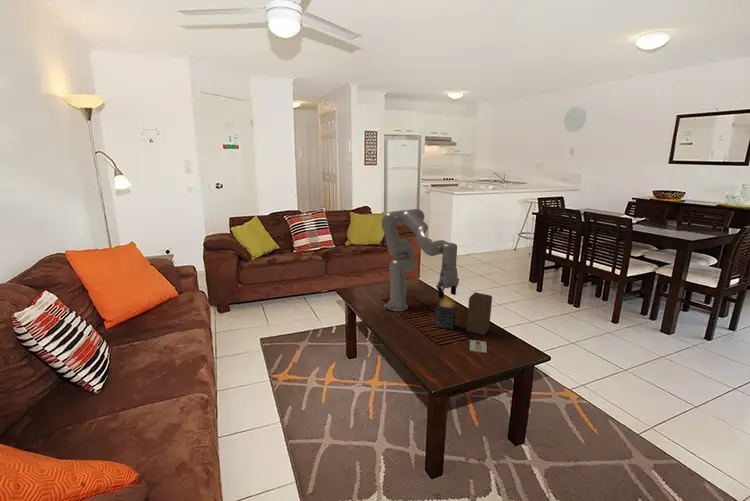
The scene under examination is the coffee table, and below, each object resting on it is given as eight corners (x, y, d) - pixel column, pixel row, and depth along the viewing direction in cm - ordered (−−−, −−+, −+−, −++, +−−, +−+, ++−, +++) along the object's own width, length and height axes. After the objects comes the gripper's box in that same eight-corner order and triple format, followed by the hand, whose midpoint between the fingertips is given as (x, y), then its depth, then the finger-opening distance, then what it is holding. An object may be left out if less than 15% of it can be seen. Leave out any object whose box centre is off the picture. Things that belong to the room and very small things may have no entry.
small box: (455, 325, 216) (456, 308, 213) (453, 330, 210) (454, 312, 207) (436, 322, 219) (437, 305, 217) (434, 327, 213) (435, 309, 211)
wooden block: (484, 336, 204) (487, 300, 199) (465, 331, 209) (468, 296, 204) (489, 329, 212) (492, 295, 207) (471, 325, 217) (474, 291, 212)
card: (469, 351, 188) (469, 349, 188) (469, 340, 198) (470, 339, 198) (486, 353, 186) (486, 351, 186) (486, 342, 196) (486, 341, 196)
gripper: (442, 270, 198) (441, 301, 202) (465, 265, 208) (462, 294, 212) (432, 266, 204) (430, 297, 208) (454, 262, 214) (452, 291, 218)
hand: (447, 296), depth 210 cm, fingers open, 9 cm apart
